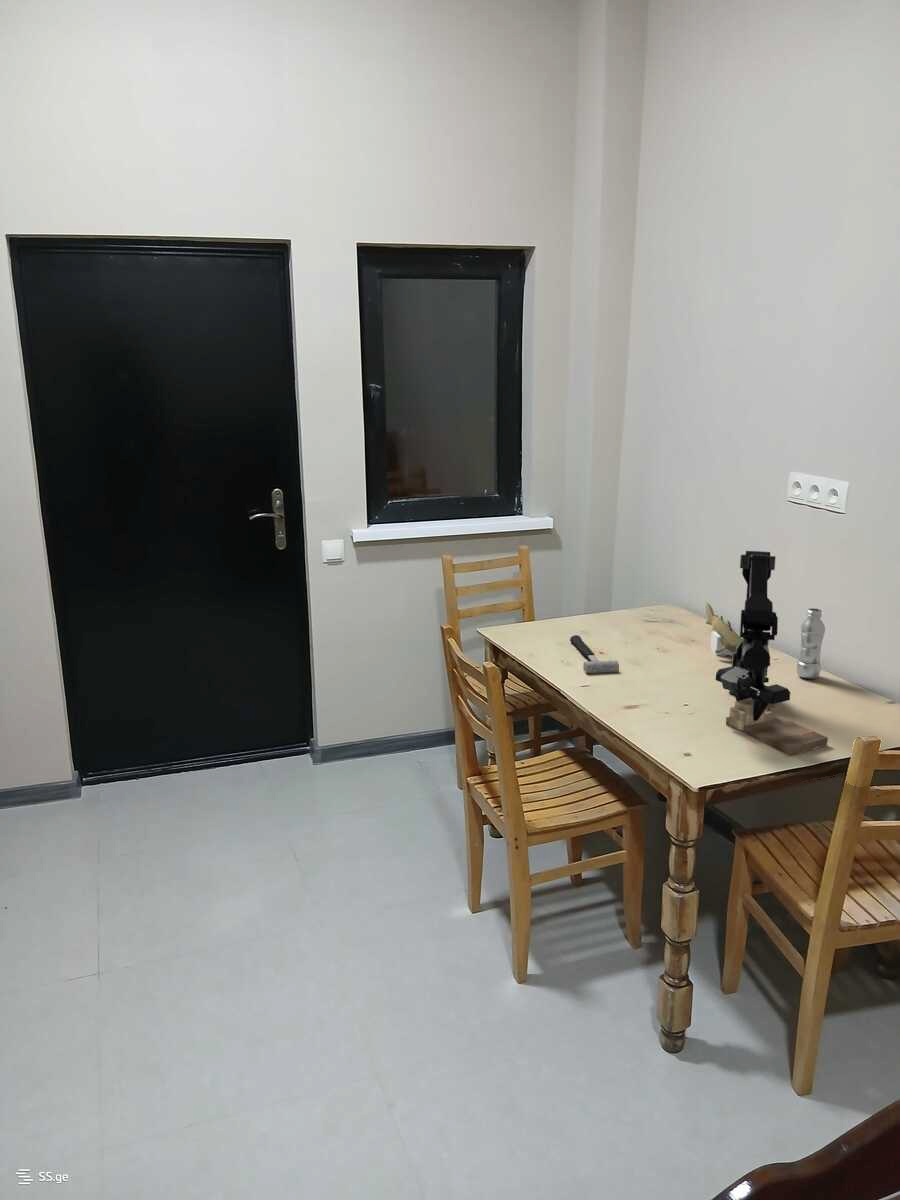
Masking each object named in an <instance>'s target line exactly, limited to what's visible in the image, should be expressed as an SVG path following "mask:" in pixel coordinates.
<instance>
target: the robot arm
mask: <svg viewBox="0 0 900 1200" xmlns="http://www.w3.org/2000/svg"><path fill="white" fill-rule="evenodd" d="M776 558H777V557H776V555H774V556H773V555H771V551H761V550H760V551H757V550H746V551H745V554H740V559H739V560H740V561H739V569H742V570H741V574H742V577H743V579H744V581H745V582H746V597H745V600H744V606H743V607H744V608H743V609H741V610H740V622H739V623H740V625H739V636H740V638H741V641H740V642H739V643H738V645H737V646H736V653H733V655H732V660H731V666H729V667H723V668H720V669H719V668H718V670H717V671H716V673H715V681H717V682H719V683H721V685H722V689H723V690H727V691H728V694H730V695H731V696H734V697H735V701H739V700H744V699H748V698H752V700H753V701H754V712H753V719H754V721H757V720H758V719H759V718H760V716H761V715H762V713H763V712H764V710H765V708H766V707H767V706H768V704H769V703H770V704H775V705H777V704H780V703H785V702H787V701H790V700H791V691H790V690H789V688H788V687H784V686H782V685H779V684H776V683H775V684H771V685H766V684H765V683H769V680H770V679H769V677H768V668H769V667H770V666H771V655H770V649H769V641H775V636H778V625H779V624H778V623H779V622H778V621H779V618H778V616H777V612H775V611H773V609H774V606H773V604H774V603H773V601H771V599H770V598H769V597H768V581H769V579H770V578H771V576H772V571H775V568H776ZM770 631H771V632H770Z"/></svg>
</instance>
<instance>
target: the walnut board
mask: <svg viewBox="0 0 900 1200" xmlns="http://www.w3.org/2000/svg"><path fill="white" fill-rule="evenodd" d="M725 725H726V726H727V727H729V728H732V729H733V730H736V731H737V732H740V733H742V734H743V735H745V736H746V735H747V736H748V737H750V738H753V739H754V740H756V741H758V742H760V743H762V744H765V745H767V746H768V747H771V748H773V749H775V750H776V751H779V752H781V753H783V754H785V755H787V756H789V757H793V756H795V755H799V754H802V753H801V752H803V753H805V752H804V751H806V752H809V751H808V750H810V751H812V749H813V750H815V749H814V748H817V747H820V748H822V747H821V746H824V747H826V746H825V745H827V746H828V743H829V742H828V740H829V737H827V736H825V735H823V734H820V733H819V732H817V731H814V730H813V729H809V728H808V727H805V726H802V725H800V724H798V723H797V722H796V723H795V722H794V721H791V720H789V719H787V718H784V717H782V716H780V715H778V714H775V713H773V712H772V711H769V710H765V714H764V722H761V723H757V724H753V725H749V726H744V730H740V729H737V728H735V727H733V726H731V725H729V716H727V717H726V718H725ZM817 749H818V748H817ZM798 753H799V754H798ZM792 755H793V756H792Z"/></svg>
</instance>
